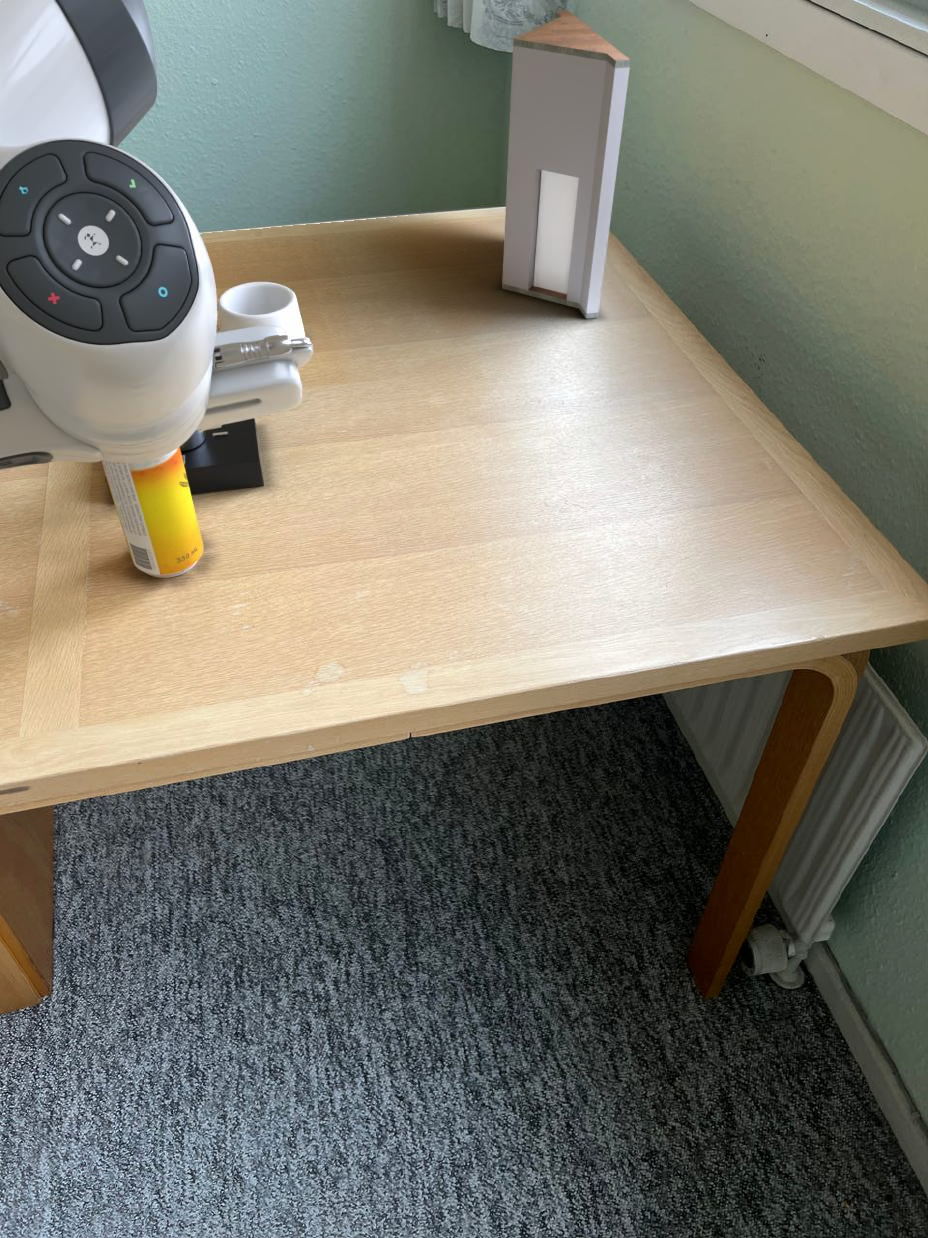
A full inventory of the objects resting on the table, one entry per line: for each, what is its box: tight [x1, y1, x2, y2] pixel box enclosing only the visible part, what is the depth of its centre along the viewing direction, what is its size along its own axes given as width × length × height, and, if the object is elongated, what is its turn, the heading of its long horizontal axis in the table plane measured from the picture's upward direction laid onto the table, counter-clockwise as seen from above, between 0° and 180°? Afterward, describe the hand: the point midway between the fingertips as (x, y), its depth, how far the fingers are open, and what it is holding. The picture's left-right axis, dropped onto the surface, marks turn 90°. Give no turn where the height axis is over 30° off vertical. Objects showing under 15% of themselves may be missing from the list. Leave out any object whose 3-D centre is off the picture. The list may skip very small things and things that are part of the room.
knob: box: [180, 430, 206, 451], centre depth 87 cm, size 4×4×4 cm
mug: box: [216, 281, 306, 340], centre depth 105 cm, size 12×10×6 cm
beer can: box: [100, 447, 204, 579], centre depth 76 cm, size 6×6×15 cm
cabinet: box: [501, 9, 631, 319], centre depth 110 cm, size 21×10×28 cm, turn 13°
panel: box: [104, 418, 265, 505], centre depth 90 cm, size 14×10×3 cm
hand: (134, 432), depth 60 cm, fingers open, 8 cm apart
